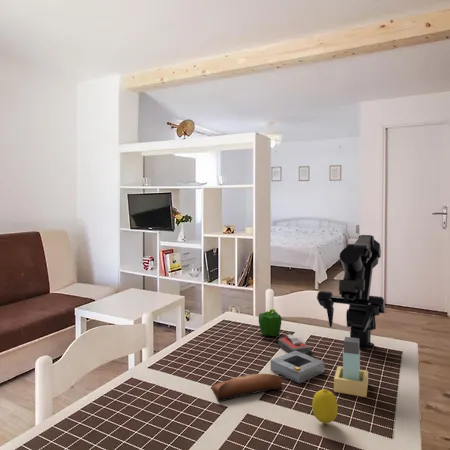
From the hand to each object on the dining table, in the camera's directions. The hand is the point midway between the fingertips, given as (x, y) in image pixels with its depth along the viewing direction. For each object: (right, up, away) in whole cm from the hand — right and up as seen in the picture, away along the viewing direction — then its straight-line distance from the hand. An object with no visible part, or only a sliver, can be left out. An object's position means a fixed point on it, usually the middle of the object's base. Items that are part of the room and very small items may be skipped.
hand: (346, 328), depth 110 cm
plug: (-1, -14, -7) cm, 16 cm away
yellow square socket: (-1, -14, -7) cm, 16 cm away
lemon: (-12, -15, -24) cm, 31 cm away
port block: (-14, -13, +3) cm, 19 cm away
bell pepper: (-18, -11, +33) cm, 40 cm away
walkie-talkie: (-12, -13, +22) cm, 28 cm away
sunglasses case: (-29, -15, -7) cm, 34 cm away
